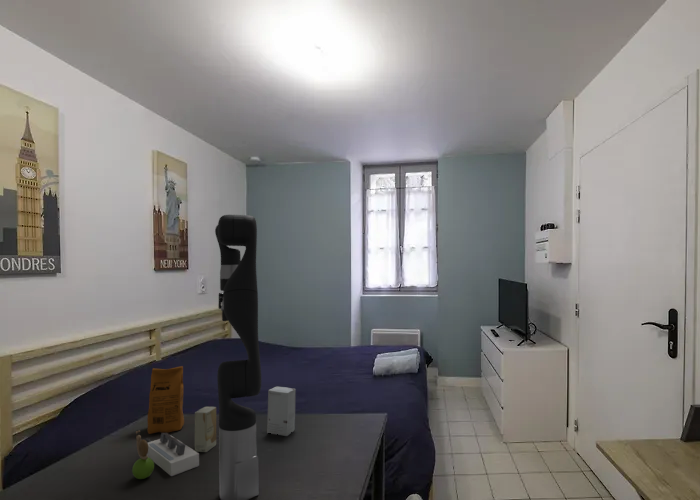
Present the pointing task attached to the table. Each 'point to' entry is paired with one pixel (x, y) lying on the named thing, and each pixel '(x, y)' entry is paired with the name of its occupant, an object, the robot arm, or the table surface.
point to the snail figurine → (142, 460)
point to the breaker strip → (172, 457)
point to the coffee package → (166, 400)
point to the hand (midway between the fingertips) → (231, 321)
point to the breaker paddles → (172, 443)
